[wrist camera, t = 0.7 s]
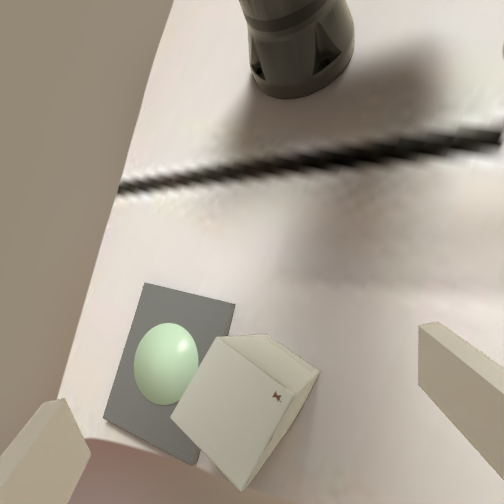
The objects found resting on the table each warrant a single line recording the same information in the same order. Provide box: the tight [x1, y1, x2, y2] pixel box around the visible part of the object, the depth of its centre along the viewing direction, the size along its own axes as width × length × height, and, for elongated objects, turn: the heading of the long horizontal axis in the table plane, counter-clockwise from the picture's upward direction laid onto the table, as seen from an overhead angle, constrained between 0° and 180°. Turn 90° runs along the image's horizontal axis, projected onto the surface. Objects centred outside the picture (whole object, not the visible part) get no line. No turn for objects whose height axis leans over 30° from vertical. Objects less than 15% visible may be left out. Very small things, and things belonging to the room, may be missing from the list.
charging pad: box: [103, 283, 235, 465], centre depth 35 cm, size 18×14×1 cm
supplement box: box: [170, 334, 320, 492], centre depth 25 cm, size 7×7×13 cm
